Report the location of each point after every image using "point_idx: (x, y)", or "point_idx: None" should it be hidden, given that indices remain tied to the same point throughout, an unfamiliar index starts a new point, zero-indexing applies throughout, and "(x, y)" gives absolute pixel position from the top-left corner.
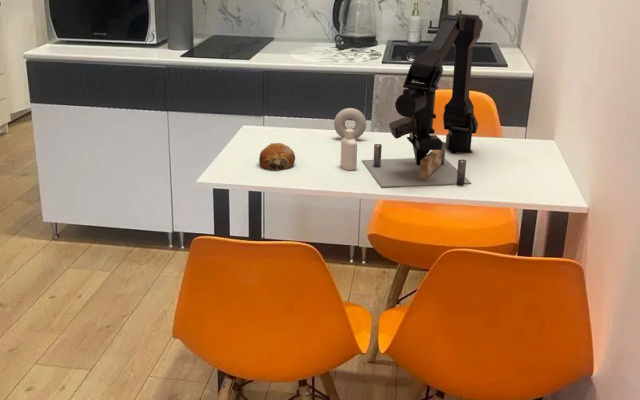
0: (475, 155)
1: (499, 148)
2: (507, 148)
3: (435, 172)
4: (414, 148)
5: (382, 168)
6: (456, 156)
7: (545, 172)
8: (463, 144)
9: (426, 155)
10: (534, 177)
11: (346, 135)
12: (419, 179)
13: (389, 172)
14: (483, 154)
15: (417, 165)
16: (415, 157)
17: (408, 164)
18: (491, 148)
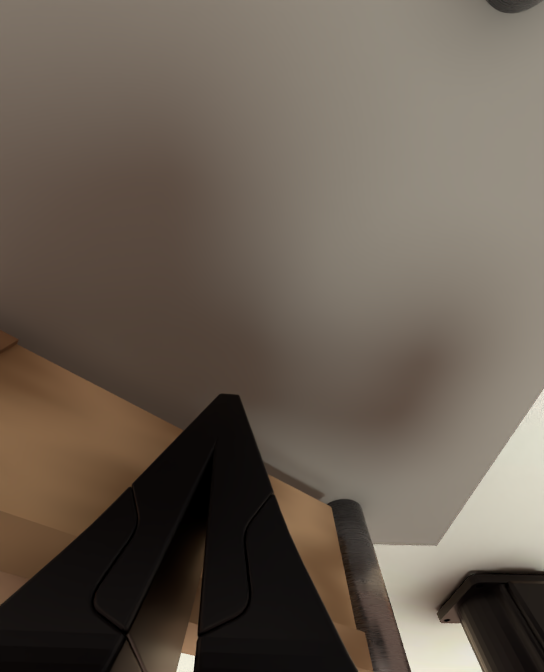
0: (408, 611)
1: (437, 655)
2: (425, 663)
3: None
4: (205, 592)
5: (408, 5)
6: (431, 573)
7: (191, 667)
8: (480, 652)
9: (26, 578)
10: None
11: None
12: (21, 316)
13: (233, 58)
14: (405, 625)
15: (219, 395)
16: (231, 442)
17: (409, 357)
18: (450, 646)
